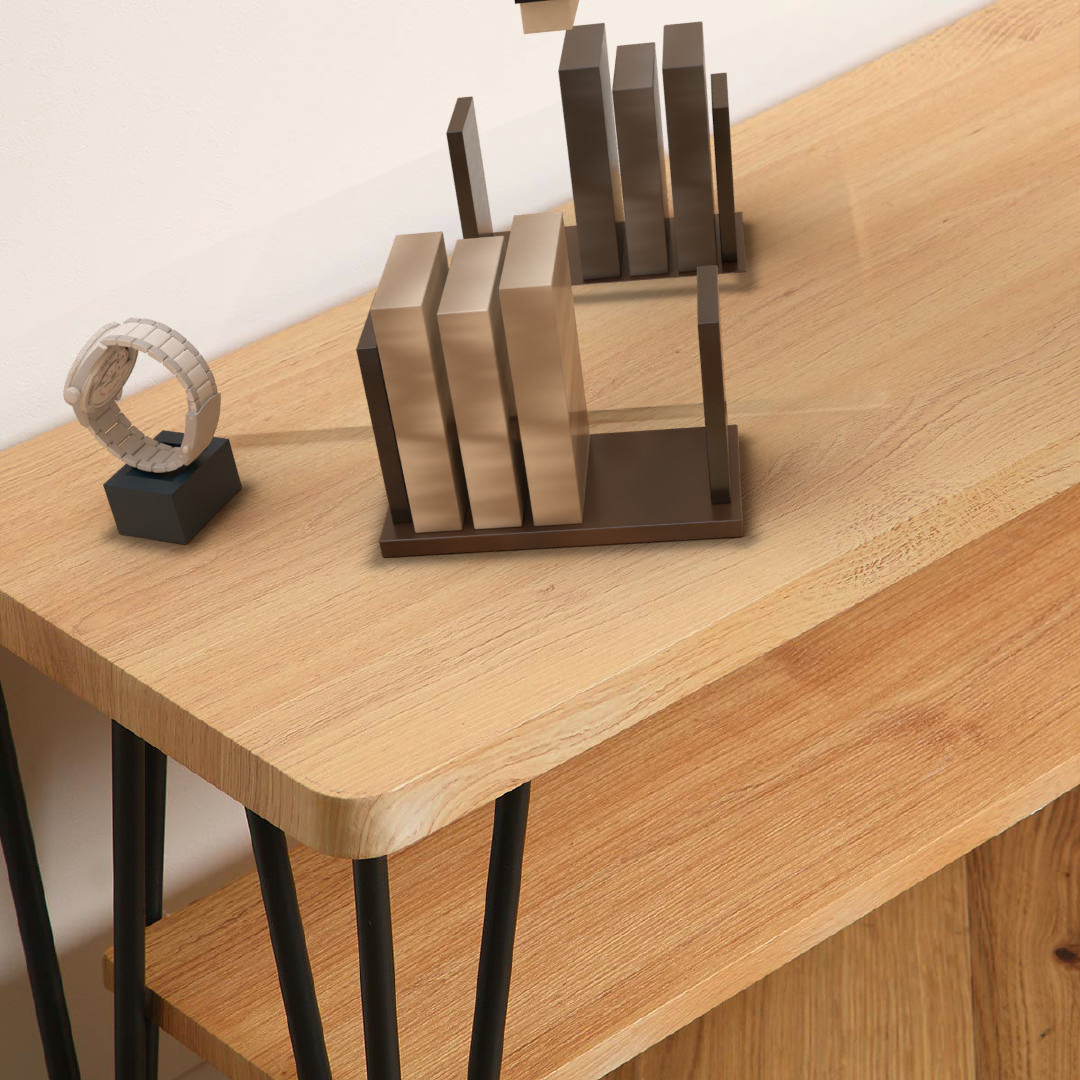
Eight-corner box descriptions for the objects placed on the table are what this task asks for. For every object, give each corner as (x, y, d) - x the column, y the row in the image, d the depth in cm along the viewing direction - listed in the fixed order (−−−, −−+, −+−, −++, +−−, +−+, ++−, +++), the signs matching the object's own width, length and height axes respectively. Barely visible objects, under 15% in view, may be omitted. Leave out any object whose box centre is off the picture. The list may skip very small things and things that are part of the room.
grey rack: (743, 225, 108) (731, 7, 100) (747, 285, 101) (734, 56, 93) (477, 247, 110) (443, 35, 102) (462, 307, 103) (425, 85, 95)
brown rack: (738, 439, 86) (723, 193, 78) (743, 537, 79) (727, 275, 71) (406, 461, 89) (359, 224, 81) (381, 557, 81) (327, 307, 73)
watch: (148, 473, 91) (93, 297, 85) (269, 491, 88) (221, 309, 82) (88, 529, 87) (26, 348, 81) (213, 550, 84) (158, 363, 77)
